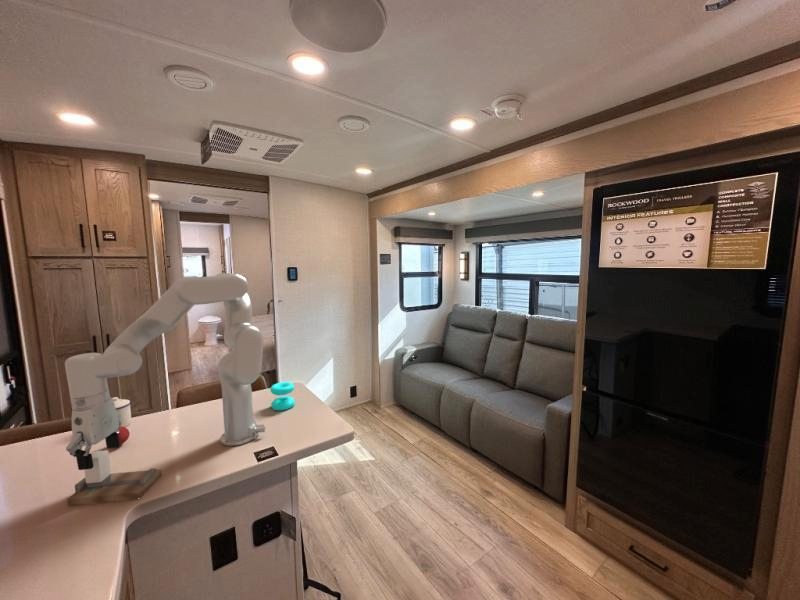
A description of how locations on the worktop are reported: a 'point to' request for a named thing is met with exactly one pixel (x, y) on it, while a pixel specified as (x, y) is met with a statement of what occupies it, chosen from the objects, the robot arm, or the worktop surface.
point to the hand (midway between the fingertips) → (100, 457)
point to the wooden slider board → (115, 488)
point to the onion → (123, 434)
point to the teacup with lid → (123, 411)
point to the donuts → (285, 401)
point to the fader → (98, 470)
